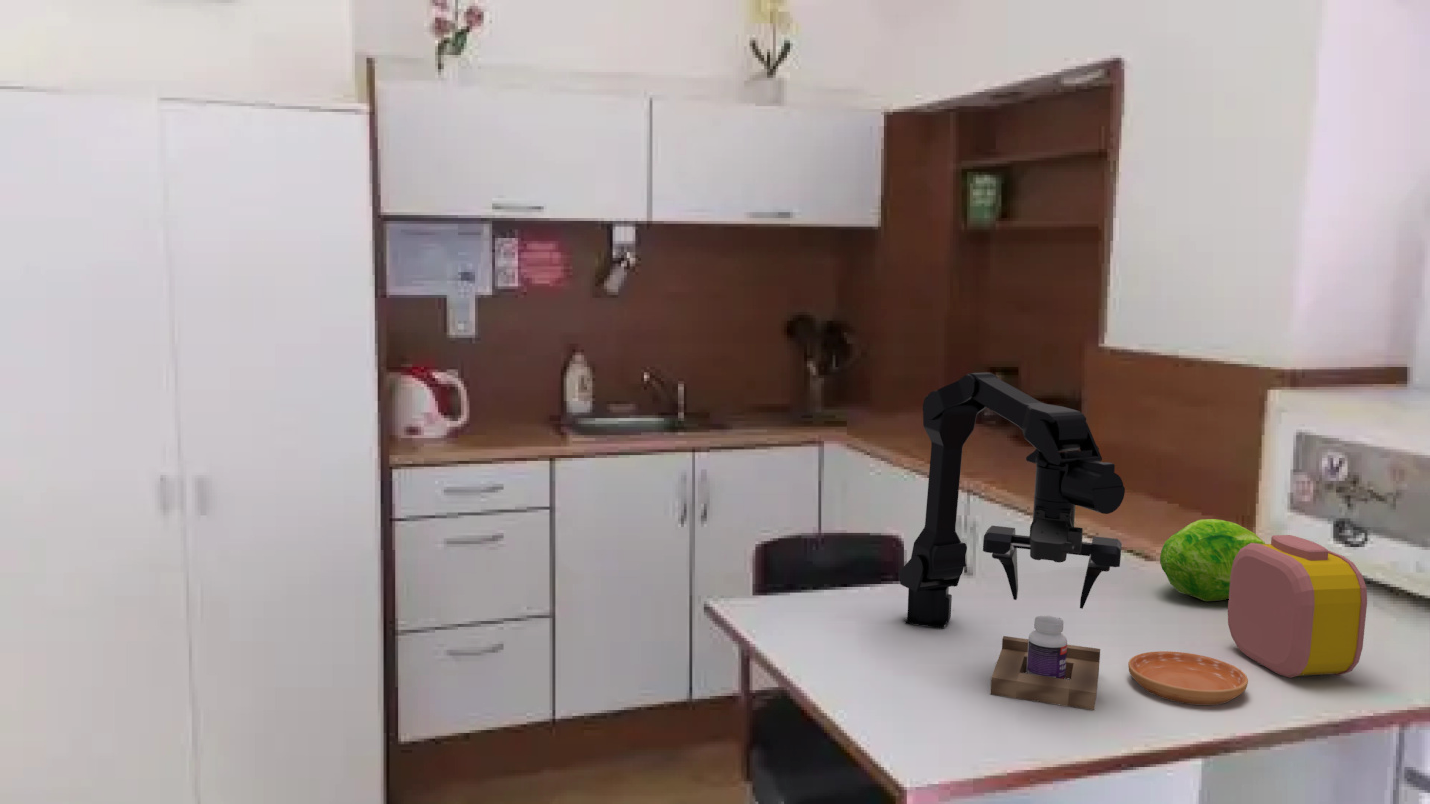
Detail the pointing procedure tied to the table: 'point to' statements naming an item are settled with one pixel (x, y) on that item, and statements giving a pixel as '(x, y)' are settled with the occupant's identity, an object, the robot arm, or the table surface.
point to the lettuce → (1204, 557)
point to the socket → (1042, 688)
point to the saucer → (1187, 677)
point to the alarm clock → (1297, 607)
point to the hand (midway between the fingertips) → (1048, 603)
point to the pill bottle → (1047, 648)
